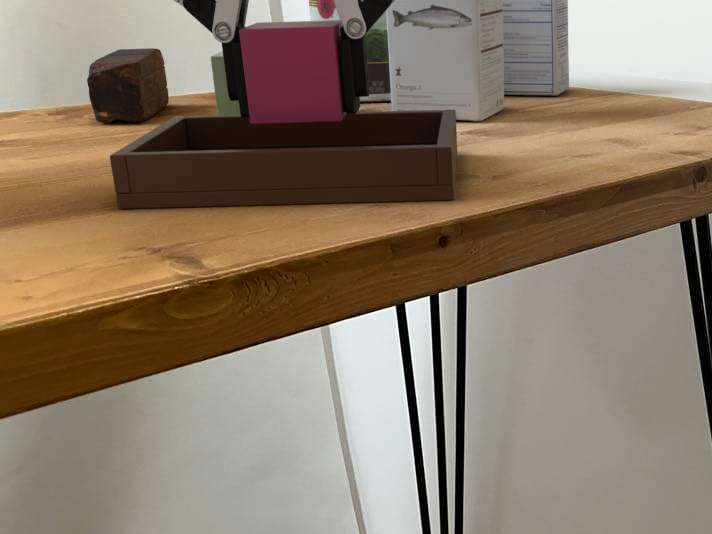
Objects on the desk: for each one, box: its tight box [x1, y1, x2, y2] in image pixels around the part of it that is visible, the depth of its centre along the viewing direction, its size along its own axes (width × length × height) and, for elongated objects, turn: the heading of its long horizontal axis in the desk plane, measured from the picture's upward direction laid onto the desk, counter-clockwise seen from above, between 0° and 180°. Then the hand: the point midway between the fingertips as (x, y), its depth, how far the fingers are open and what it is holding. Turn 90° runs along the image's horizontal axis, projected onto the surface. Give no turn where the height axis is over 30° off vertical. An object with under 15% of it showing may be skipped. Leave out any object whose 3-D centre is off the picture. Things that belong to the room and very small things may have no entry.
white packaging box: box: [386, 0, 505, 122], centre depth 85 cm, size 7×7×13 cm
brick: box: [86, 48, 170, 124], centre depth 89 cm, size 11×4×5 cm, turn 7°
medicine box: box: [503, 0, 570, 97], centre depth 97 cm, size 8×4×9 cm, turn 74°
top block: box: [239, 20, 346, 125], centre depth 63 cm, size 5×5×5 cm
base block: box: [210, 50, 241, 115], centre depth 87 cm, size 7×7×5 cm
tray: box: [109, 110, 458, 210], centre depth 64 cm, size 18×14×3 cm
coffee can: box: [308, 0, 391, 103], centre depth 96 cm, size 10×10×14 cm
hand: (301, 108), depth 63 cm, fingers closed on top block, 5 cm apart
